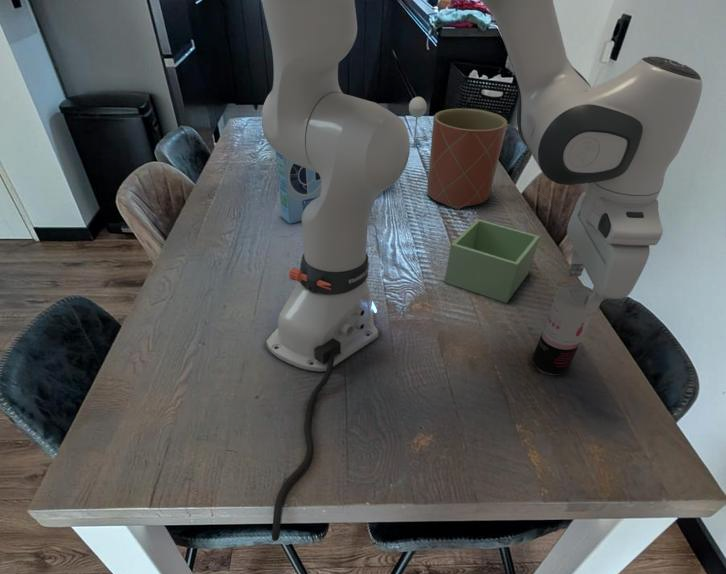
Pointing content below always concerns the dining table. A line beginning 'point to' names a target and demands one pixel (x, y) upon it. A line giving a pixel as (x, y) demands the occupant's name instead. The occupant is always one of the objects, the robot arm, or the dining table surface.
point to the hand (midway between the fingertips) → (581, 290)
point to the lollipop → (417, 110)
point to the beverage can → (563, 329)
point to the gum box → (296, 188)
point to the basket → (491, 259)
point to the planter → (464, 155)
